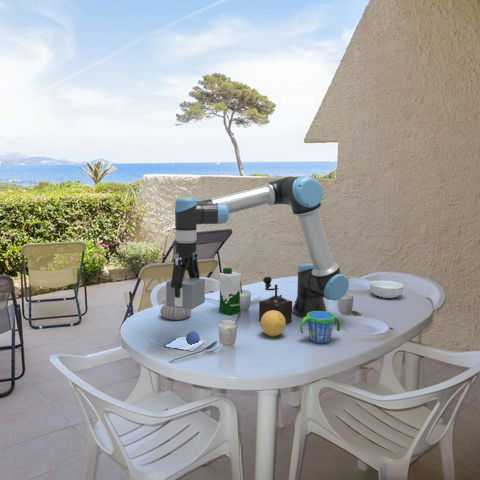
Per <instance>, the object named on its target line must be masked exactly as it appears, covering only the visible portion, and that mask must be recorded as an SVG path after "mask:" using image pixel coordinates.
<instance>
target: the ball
mask: <svg viewBox="0 0 480 480" xmlns="http://www.w3.org/2000/svg"><path fill="white" fill-rule="evenodd" d="M185 337H186V341H187V343H188V344H190V345H192V344H195V343H198V342H199V341H200V339H201V337H200V335H199V333H198V332H197V331H190V332H189V333H187V335H186V336H185Z"/></svg>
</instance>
